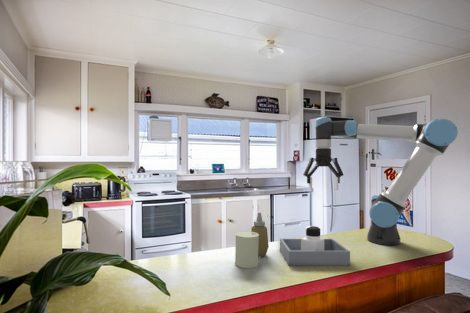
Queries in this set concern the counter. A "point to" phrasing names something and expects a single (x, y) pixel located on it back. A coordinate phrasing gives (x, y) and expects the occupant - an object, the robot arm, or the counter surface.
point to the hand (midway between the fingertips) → (323, 190)
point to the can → (246, 249)
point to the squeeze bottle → (261, 235)
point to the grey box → (314, 254)
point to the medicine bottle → (312, 240)
